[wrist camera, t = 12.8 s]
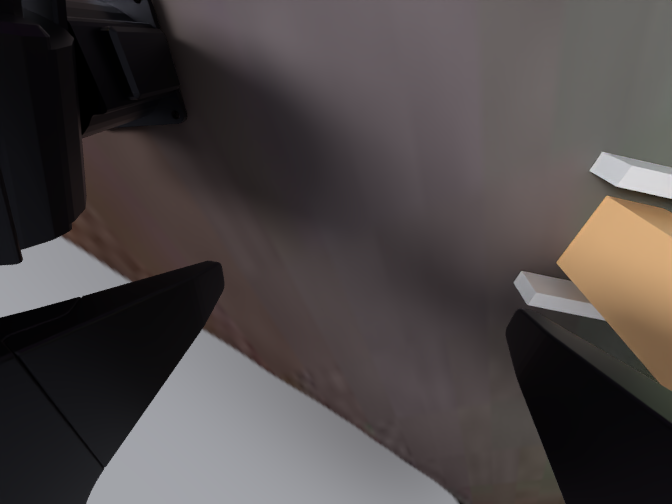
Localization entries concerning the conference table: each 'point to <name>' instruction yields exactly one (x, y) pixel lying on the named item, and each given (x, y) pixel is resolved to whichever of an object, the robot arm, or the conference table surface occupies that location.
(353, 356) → the conference table surface
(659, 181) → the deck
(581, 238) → the tan block
